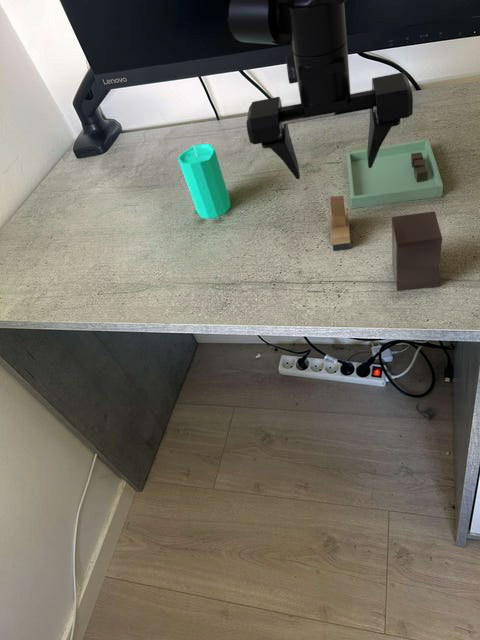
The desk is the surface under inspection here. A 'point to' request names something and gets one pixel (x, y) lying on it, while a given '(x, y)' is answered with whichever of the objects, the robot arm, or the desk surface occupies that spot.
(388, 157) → the tray
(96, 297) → the desk surface
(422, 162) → the crumb
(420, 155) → the crumb
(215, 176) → the candle
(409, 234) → the dark brown block
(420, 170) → the crumb
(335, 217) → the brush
